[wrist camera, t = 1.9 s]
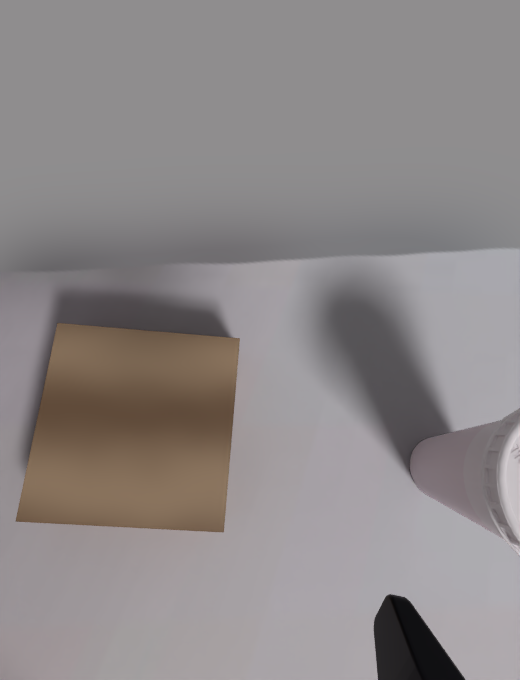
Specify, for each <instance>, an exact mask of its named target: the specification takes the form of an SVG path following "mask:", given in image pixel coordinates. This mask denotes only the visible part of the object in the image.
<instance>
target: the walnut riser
mask: <svg viewBox="0 0 520 680" xmlns="http://www.w3.org/2000/svg"><path fill="white" fill-rule="evenodd" d="M239 341H240V338H228V337H217V336H205V335H193V334H181V333H170V332H158V331H146V330H135V329H123V328H111V327H99V326H88V325H76V324H64V323H57V328H56V332H55V337H54V342H53V347H52V351H51V356H50V361H49V366H48V370H47V375H46V380H45V385H44V389H43V394H42V399H41V403H40V408H39V413H38V418H37V422H36V427H35V432H34V437H33V441H32V446H31V451H30V456H29V460H28V465H27V470H26V475H25V479H24V484H23V489H22V493H21V498H20V503H19V508H18V512H17V517H16V521H17V522H36V523H55V524H75V525H94V526H113V527H132V528H151V529H170V530H189V531H208V532H224V522H225V510H226V498H227V486H228V474H229V462H230V450H231V438H232V426H233V414H234V402H235V390H236V377H237V365H238V353H239Z"/></svg>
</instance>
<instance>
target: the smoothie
mask: <svg viewBox="0 0 520 680" xmlns="http://www.w3.org/2000/svg"><path fill="white" fill-rule="evenodd" d="M410 471H411V475H412V478H413V480H414V482H415V484H416V485H417V487H418V488H419V489H420V490H421V491H422V492H423V493H424V494H426V495H427V496H429V497H431V498H433V499H434V500H436V501H438V502H440V503H441V504H443V505H445V506H447V507H448V508H450V509H452V510H454V511H455V512H457V513H459V514H461V515H462V516H464V517H466V518H468V519H469V520H471V521H473V522H475V523H476V524H478V525H480V526H482V527H483V528H485V529H487V530H489V531H490V532H492V533H494V534H496V535H497V536H499V537H500V538H502V539H504V540H505V541H506V542H507V543H508V544H509V545H510V546H511V548H512V549H513V550H514V551H515V552H516V553H517V554H518V555H519V556H520V408H519V409H518V410H516V411H514V412H513V413H511V414H509V415H508V416H506V417H504V418H503V419H502V420H500V421H496V422H493V423H489V424H484V425H480V426H476V427H472V428H468V429H464V430H459V431H455V432H451V433H447V434H443V435H439V436H435V437H430V438H427V439H425V440H423V441H421V442H420V443H419V444H418V445H417V446H416V447H415V448H414V450H413V452H412V455H411V458H410Z"/></svg>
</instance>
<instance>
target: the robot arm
mask: <svg viewBox="0 0 520 680" xmlns="http://www.w3.org/2000/svg"><path fill="white" fill-rule="evenodd" d="M374 638H375V649H376V661H377V673H378V680H465V678H464V677H463V675H462V674H461V673H460V671H459V670H458V668H457V667H456V666H455V664H454V663H453V661H452V660H451V659H450V657H449V656H448V654H447V653H446V652H445V650H444V649H443V647H442V646H441V644H440V643H439V642H438V640H437V639H436V637H435V636H434V635H433V633H432V632H431V630H430V629H429V628H428V626H427V625H426V623H425V622H424V620H423V619H422V618H421V616H420V615H419V613H418V612H417V611H416V609H415V608H414V606H413V605H412V604H411V602H410V601H409V600H408V599H407V598H405V597H401V596H396V595H391V594H389V595H387V596H386V597H385V599H384V601H383V603H382V605H381V607H380V609H379V611H378V613H377V615H376V617H375V621H374Z"/></svg>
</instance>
